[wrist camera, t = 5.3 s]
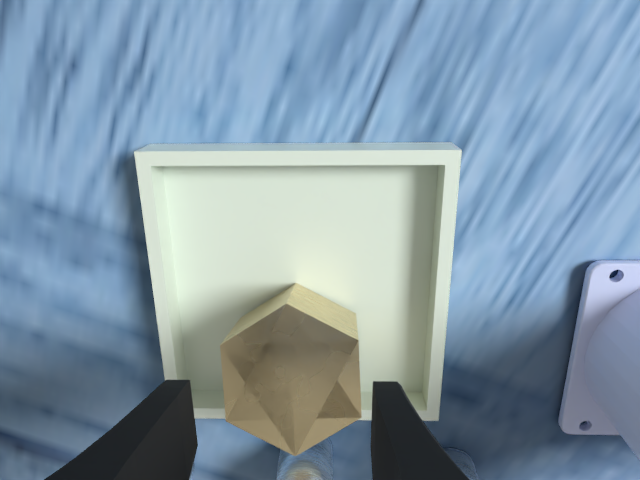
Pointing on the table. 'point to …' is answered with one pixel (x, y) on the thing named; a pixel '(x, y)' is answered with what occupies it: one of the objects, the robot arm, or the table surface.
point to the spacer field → (317, 463)
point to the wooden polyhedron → (293, 370)
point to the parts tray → (303, 251)
